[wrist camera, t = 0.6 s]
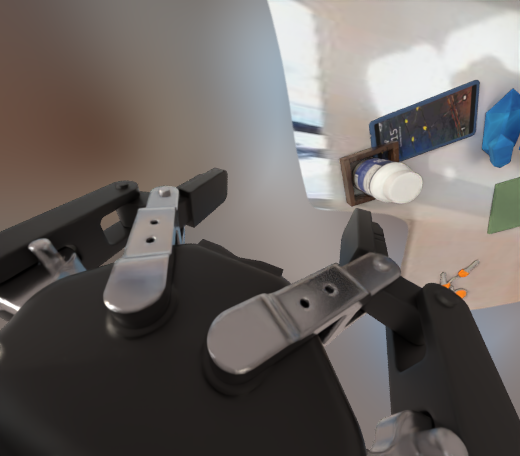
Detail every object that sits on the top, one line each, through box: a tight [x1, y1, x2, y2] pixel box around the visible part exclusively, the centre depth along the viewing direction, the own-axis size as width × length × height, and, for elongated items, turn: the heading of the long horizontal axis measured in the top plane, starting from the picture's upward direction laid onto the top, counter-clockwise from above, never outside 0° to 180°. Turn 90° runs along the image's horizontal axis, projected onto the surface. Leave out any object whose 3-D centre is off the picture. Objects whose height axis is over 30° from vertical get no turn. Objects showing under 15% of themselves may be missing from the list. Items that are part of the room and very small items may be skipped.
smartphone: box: [369, 80, 480, 162], centre depth 30 cm, size 8×1×15 cm
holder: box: [340, 141, 399, 206], centre depth 32 cm, size 8×8×2 cm
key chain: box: [440, 260, 479, 299], centre depth 43 cm, size 13×7×1 cm, turn 6°
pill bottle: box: [352, 158, 423, 204], centre depth 28 cm, size 5×5×10 cm
